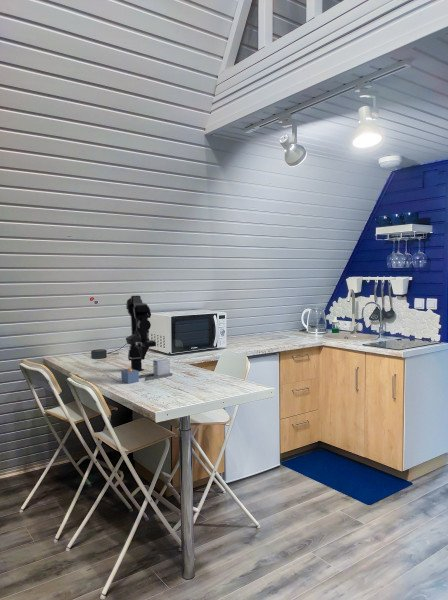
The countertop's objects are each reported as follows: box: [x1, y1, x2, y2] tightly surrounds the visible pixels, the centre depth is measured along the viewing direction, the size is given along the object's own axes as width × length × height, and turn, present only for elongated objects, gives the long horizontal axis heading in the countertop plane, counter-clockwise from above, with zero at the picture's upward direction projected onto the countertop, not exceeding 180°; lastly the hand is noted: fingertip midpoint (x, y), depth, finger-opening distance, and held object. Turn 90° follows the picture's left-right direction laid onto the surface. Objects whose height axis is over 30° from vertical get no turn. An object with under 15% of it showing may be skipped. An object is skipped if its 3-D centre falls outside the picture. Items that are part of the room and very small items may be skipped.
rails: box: [139, 372, 173, 381], centre depth 238 cm, size 8×16×1 cm, turn 130°
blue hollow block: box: [120, 369, 140, 385], centre depth 228 cm, size 7×6×6 cm
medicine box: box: [152, 358, 171, 376], centre depth 241 cm, size 8×4×9 cm, turn 130°
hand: (142, 358), depth 233 cm, fingers closed
